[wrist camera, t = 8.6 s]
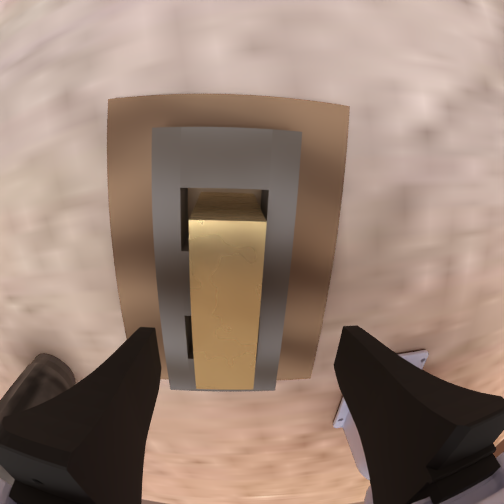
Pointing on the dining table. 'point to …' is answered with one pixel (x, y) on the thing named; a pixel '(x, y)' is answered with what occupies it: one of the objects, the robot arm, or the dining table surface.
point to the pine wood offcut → (226, 288)
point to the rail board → (226, 181)
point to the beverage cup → (35, 390)
